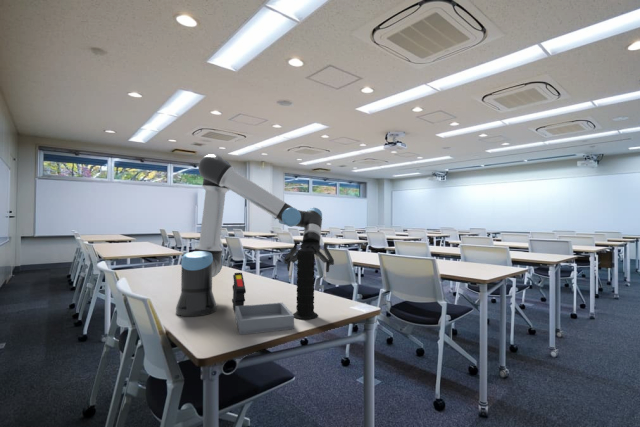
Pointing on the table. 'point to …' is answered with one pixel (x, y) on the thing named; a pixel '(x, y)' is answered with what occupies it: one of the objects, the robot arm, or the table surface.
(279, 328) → the tray
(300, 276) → the handle grip
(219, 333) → the table surface
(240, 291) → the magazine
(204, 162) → the robot arm
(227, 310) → the table surface
